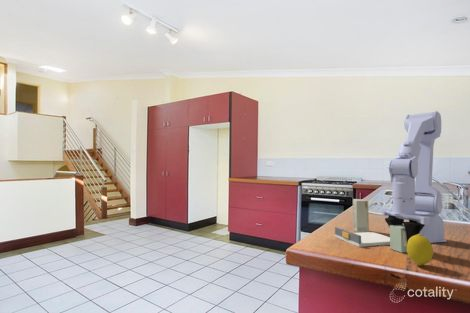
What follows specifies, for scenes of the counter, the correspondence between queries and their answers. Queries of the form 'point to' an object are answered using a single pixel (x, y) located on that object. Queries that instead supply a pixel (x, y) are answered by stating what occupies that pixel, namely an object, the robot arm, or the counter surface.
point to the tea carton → (398, 238)
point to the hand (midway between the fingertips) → (404, 243)
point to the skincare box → (360, 215)
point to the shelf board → (362, 238)
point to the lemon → (419, 249)
